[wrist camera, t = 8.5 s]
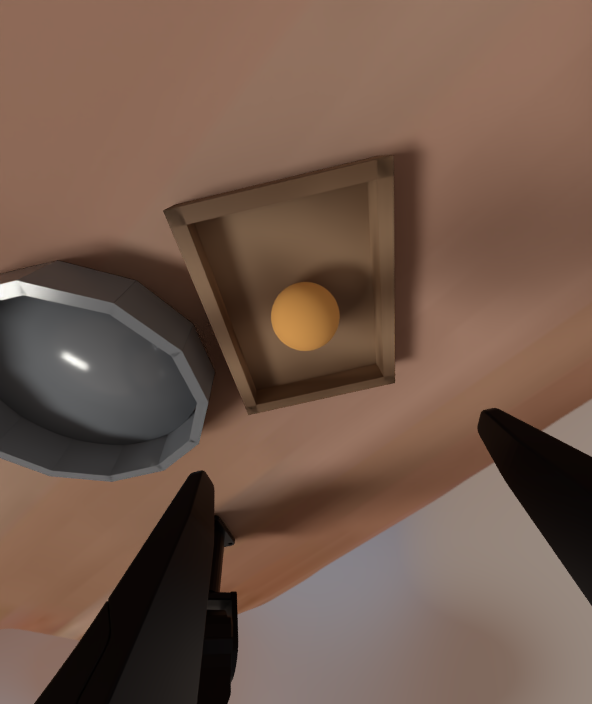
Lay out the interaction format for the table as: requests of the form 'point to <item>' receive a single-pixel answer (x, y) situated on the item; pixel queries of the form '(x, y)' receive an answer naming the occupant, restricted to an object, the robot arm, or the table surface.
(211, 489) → the robot arm
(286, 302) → the ball
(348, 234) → the tray
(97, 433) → the bowl
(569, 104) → the table surface
